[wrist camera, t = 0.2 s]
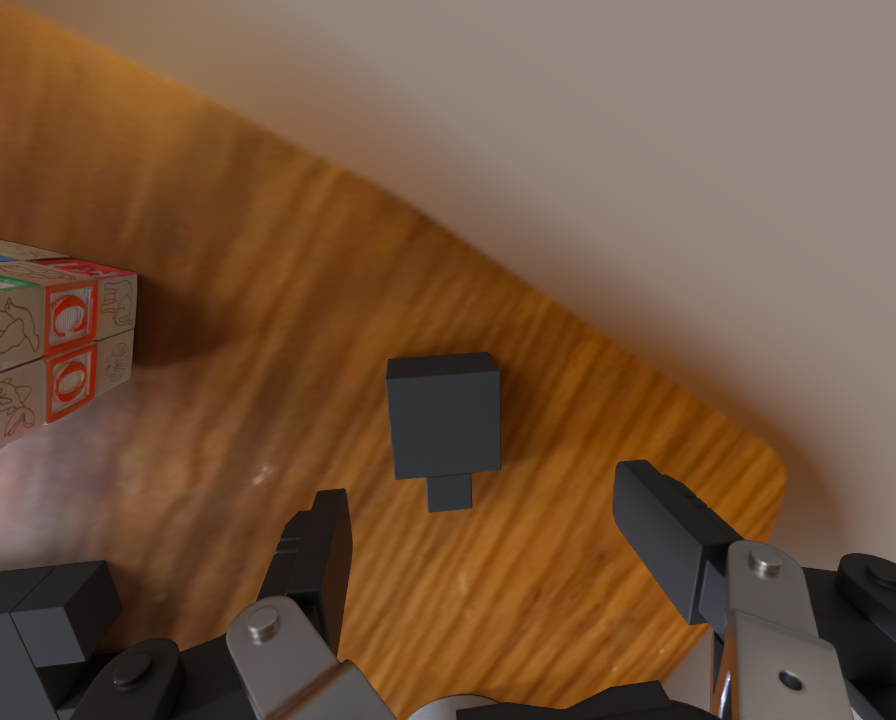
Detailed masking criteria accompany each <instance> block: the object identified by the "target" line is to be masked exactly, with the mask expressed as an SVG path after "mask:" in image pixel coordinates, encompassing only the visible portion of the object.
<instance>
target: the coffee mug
mask: <svg viewBox="0 0 896 720" xmlns="http://www.w3.org/2000/svg"><path fill="white" fill-rule="evenodd" d="M492 704H499V703H497V702H496V701H493V700H491V699H488V698H485V697H480V696H474V695H461V696H451V697H447V698H442V699H439V700H436V701H434V702H431V703H429V704H427V705H425V706H423V707H422V708H420V709H419V710H417V711H416V712H415V713H413V714H412V715H411V716H410V717H409V718H408V719H407V720H456V710H458V709H465V708H471V707H478V706H485V705H492Z"/></svg>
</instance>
